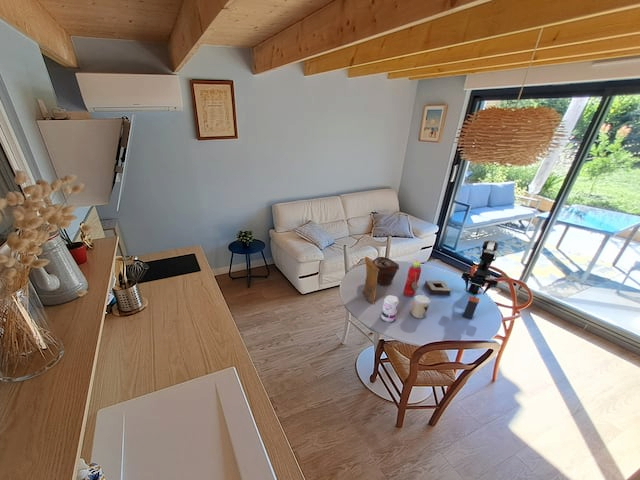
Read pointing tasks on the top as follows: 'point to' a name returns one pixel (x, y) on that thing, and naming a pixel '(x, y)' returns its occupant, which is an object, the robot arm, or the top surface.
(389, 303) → the supplement can
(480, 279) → the robot arm
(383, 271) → the brown flower pot
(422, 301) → the coffee cup
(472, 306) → the pad post
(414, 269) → the water bottle
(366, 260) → the pancake mix bag
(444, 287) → the base pad
